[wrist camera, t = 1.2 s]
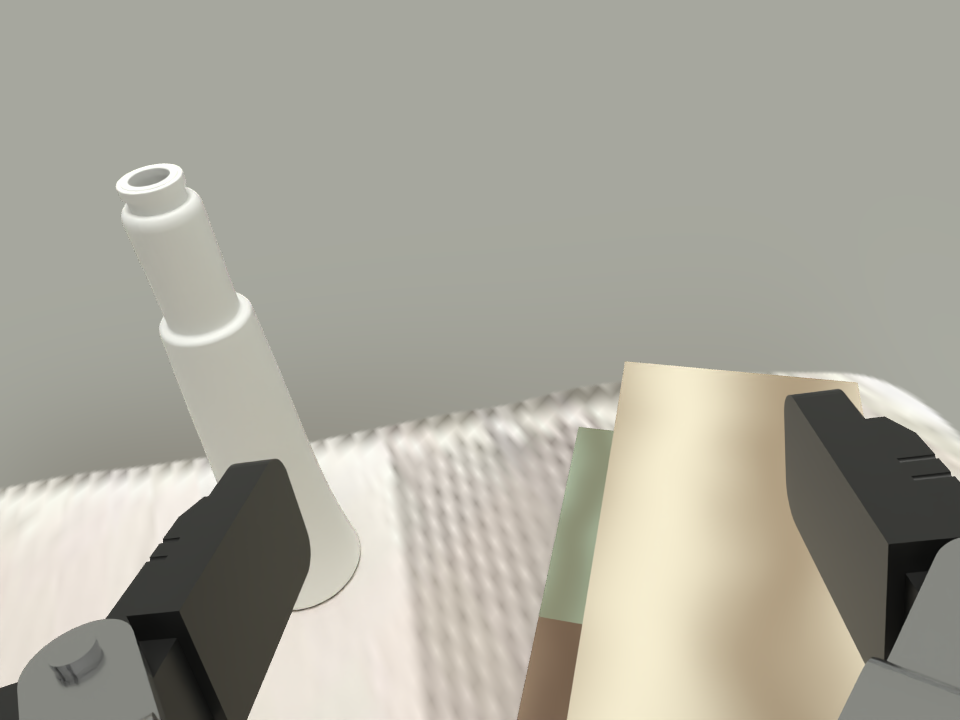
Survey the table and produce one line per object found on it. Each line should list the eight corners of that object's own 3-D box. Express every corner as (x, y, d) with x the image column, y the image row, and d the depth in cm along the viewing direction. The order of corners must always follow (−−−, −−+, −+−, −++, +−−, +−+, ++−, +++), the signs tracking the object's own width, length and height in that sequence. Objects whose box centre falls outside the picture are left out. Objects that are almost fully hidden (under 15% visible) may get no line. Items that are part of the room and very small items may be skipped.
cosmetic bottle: (379, 573, 39) (261, 181, 25) (267, 633, 37) (67, 243, 23) (335, 497, 43) (212, 124, 29) (232, 547, 41) (45, 172, 27)
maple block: (570, 892, 26) (563, 737, 18) (616, 552, 36) (625, 361, 28) (822, 958, 24) (935, 816, 16) (795, 580, 34) (857, 382, 26)
